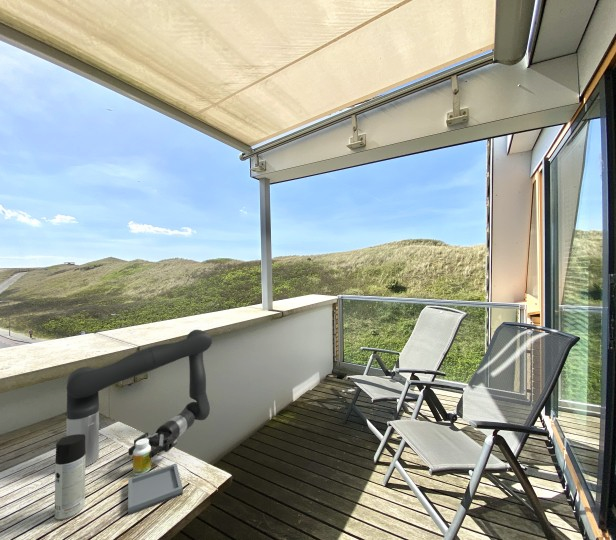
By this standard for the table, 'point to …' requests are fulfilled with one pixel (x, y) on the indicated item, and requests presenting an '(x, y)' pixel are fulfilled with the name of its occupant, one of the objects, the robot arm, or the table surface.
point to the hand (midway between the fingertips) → (139, 454)
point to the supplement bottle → (141, 457)
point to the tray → (153, 488)
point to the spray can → (69, 476)
